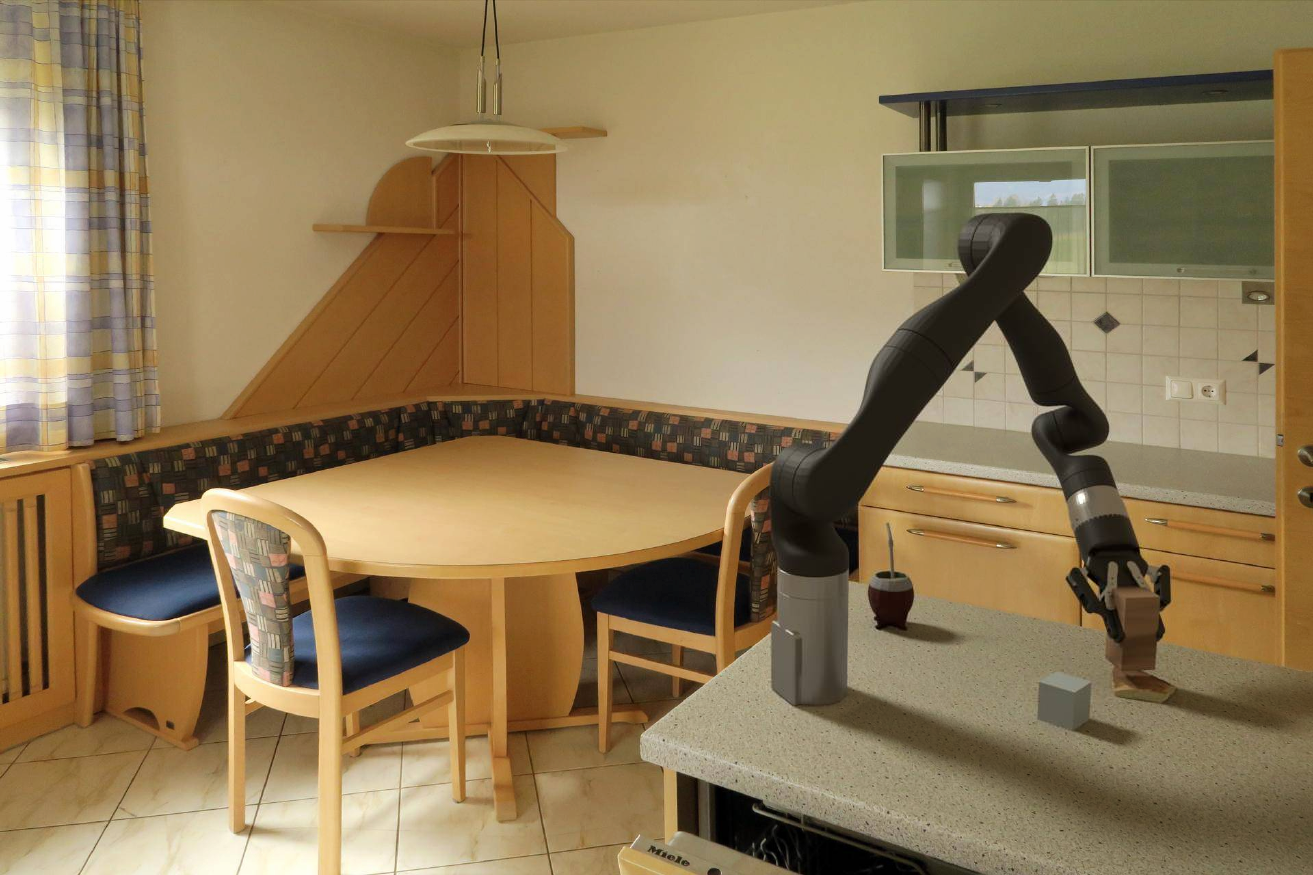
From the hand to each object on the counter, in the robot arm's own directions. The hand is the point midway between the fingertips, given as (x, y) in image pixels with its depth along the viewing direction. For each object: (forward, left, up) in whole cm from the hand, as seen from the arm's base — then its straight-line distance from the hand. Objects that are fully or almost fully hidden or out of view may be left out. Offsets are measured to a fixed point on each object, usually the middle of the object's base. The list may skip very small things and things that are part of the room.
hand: (1139, 639), depth 133 cm
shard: (+1, +2, -8) cm, 8 cm away
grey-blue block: (-14, -2, -7) cm, 16 cm away
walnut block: (+1, +2, -4) cm, 5 cm away
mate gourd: (-14, +35, -7) cm, 38 cm away
